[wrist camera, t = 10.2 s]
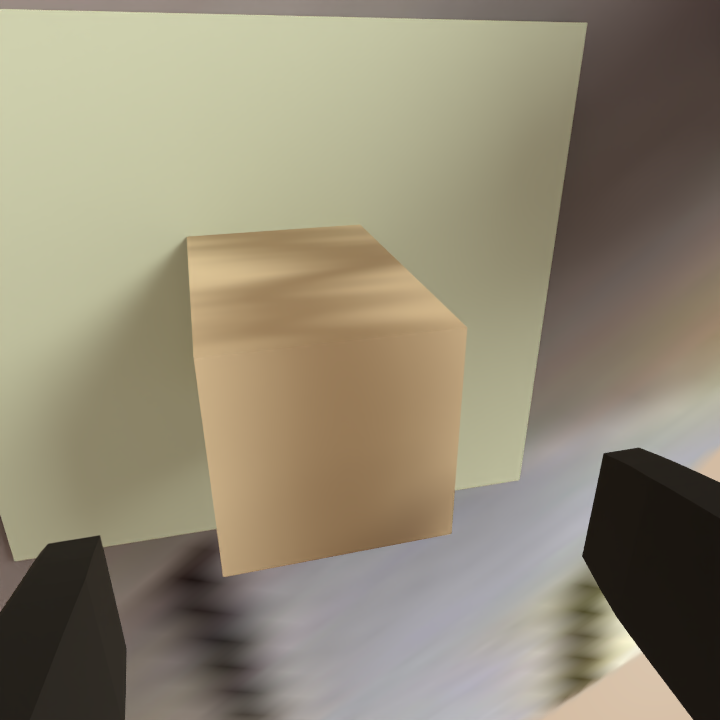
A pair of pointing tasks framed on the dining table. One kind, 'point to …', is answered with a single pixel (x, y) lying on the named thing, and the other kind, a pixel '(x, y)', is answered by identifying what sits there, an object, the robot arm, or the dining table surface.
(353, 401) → the birch block
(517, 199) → the felt mat
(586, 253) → the dining table surface
